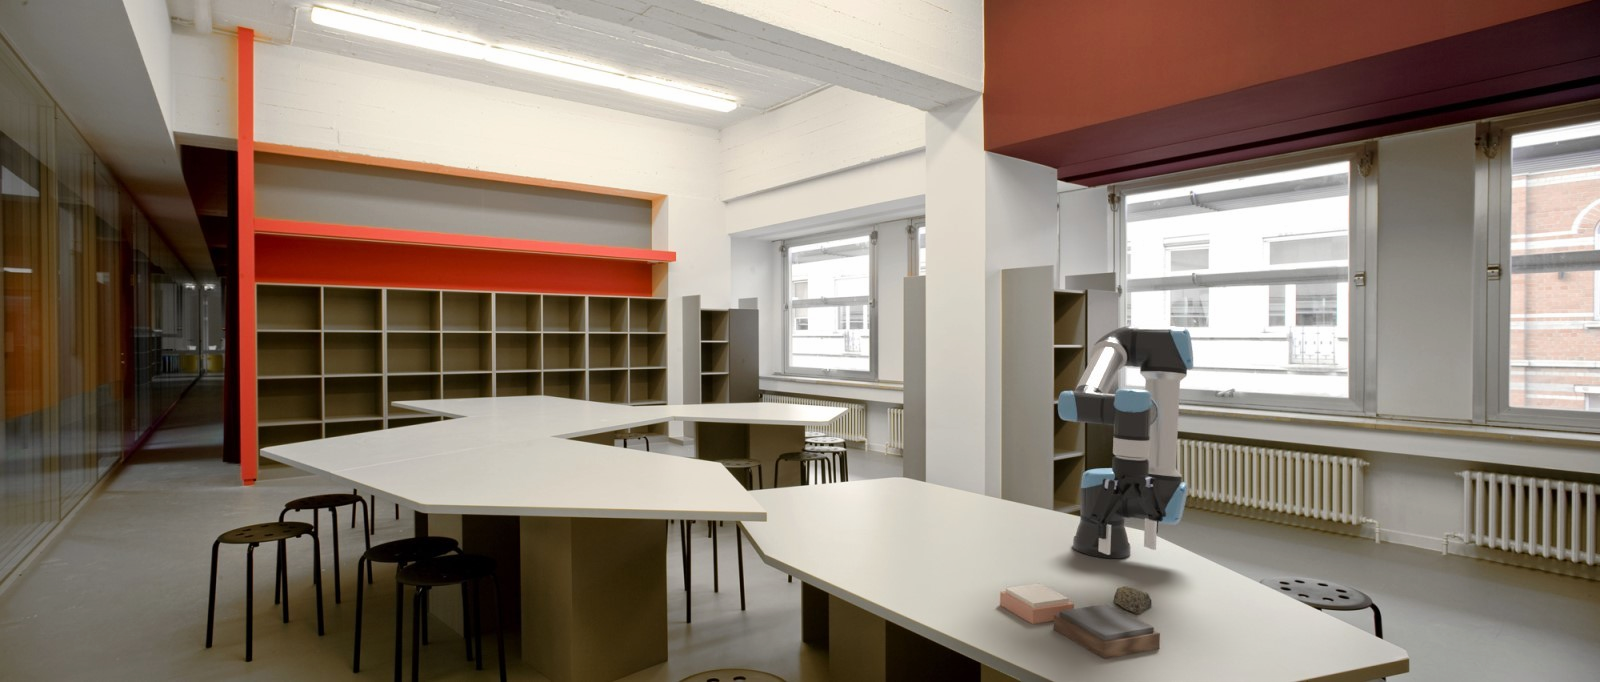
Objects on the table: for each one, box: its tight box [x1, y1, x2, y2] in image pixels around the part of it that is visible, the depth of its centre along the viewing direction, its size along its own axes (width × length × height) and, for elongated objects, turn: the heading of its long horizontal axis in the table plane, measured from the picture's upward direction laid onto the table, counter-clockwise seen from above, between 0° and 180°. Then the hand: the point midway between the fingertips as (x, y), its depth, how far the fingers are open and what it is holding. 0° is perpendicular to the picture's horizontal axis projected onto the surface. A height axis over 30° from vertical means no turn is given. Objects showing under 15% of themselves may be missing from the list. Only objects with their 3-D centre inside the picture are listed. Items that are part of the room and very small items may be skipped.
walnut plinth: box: [1053, 603, 1161, 660], centre depth 144 cm, size 14×14×4 cm
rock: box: [1113, 585, 1153, 616], centre depth 162 cm, size 7×8×4 cm
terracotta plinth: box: [999, 583, 1075, 625], centre depth 158 cm, size 11×11×4 cm
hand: (1127, 550), depth 162 cm, fingers open, 13 cm apart
